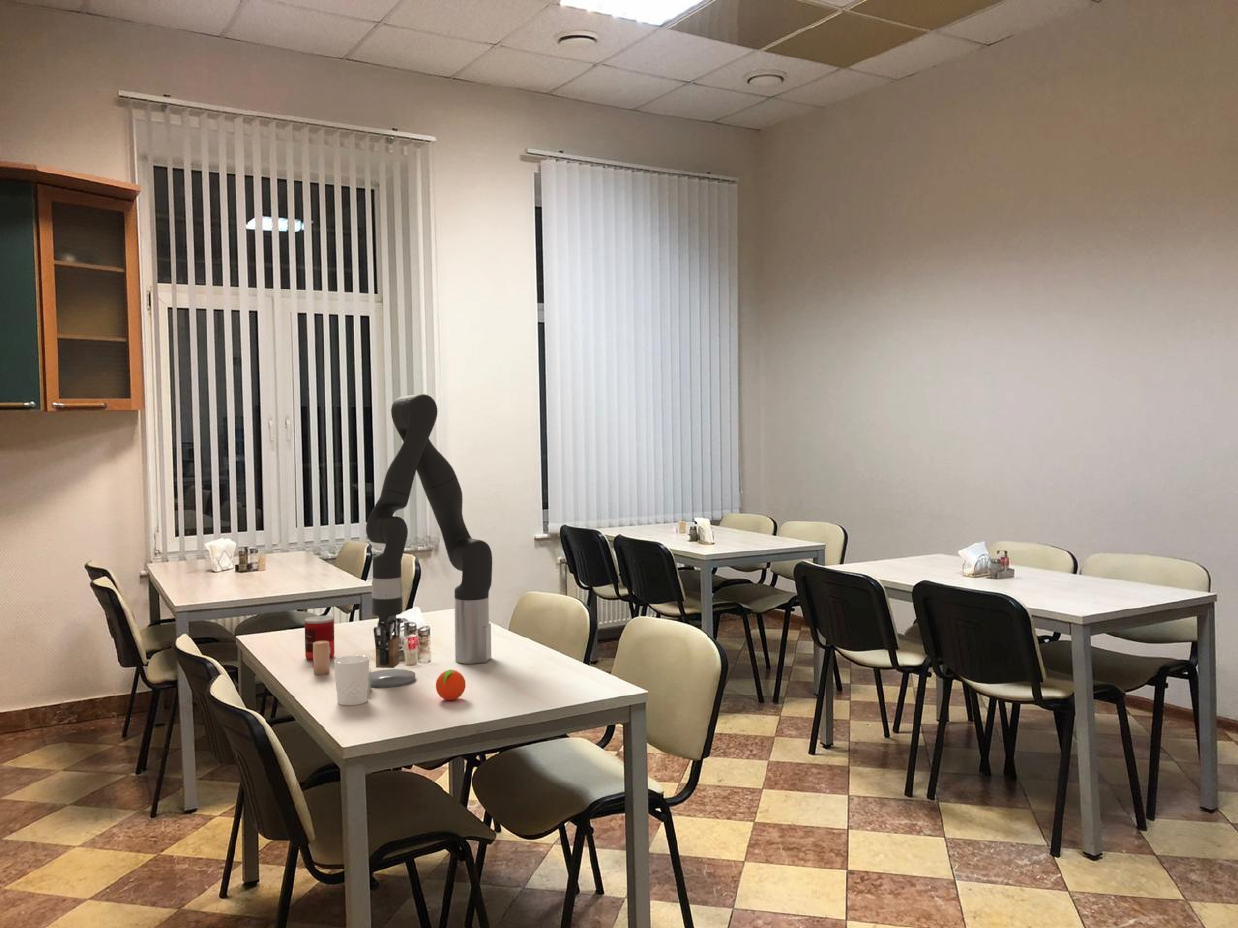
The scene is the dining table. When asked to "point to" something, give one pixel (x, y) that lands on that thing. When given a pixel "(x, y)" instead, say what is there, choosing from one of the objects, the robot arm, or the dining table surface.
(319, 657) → the cylinder
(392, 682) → the slate coaster
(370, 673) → the sage cube
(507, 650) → the dining table surface
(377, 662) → the walnut block
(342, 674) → the white cup
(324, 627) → the canned food
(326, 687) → the dining table surface
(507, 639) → the dining table surface
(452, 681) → the clementine
